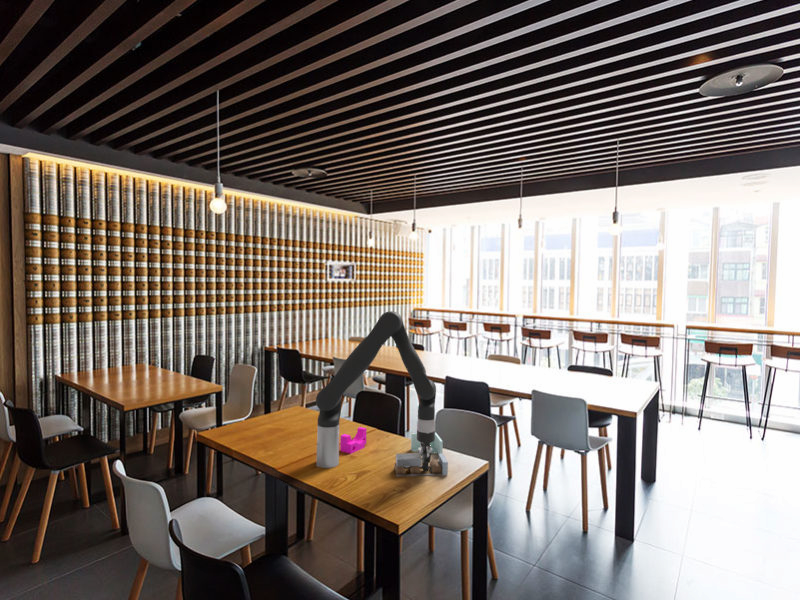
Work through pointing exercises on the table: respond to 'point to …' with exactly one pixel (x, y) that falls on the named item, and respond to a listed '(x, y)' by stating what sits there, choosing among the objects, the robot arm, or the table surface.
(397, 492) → the table surface
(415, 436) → the l-shaped corner panel
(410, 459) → the slab
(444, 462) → the stop gate
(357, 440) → the magenta curved bracket
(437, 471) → the roller bed
